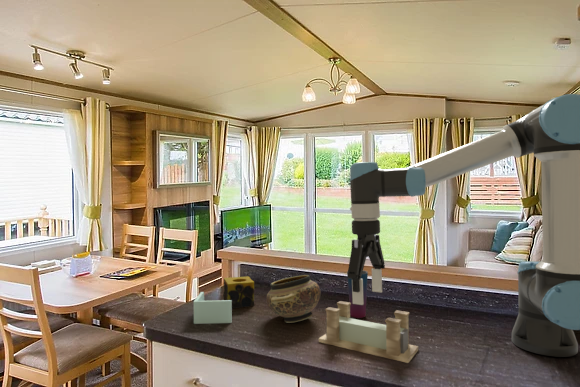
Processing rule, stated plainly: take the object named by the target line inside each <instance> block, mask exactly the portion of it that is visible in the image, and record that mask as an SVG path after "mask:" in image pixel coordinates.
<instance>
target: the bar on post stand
mask: <svg viewBox="0 0 580 387" xmlns="http://www.w3.org/2000/svg"><path fill="white" fill-rule="evenodd" d="M336 305H337V308H336V307H331V306H330V307H329V306H328V307H327V308H325V312H326V318H327V336H326V333H325V334H323V335H321V336H320V337H319V338H318V343H322V344H326V345H330V346H334V347H339V348H343V349H348V350H351V351H355V352H358V353H364V354H368V355H371V356H372V355H373V356H376V357H381V358H385V359H389V360H394V361H398V362H403V363H406V364H409V363H410V362H411V360H412V359H413V358H414V357H415V355H416V354H417V353H418V352H419V346H418V345H413V344H410V341H409V340H410V338H409V337H410V336H409V332H410V331H409V330H410V329H409V328H410V327H409V323H410V322H409V315H410V312H409V311H404V310H403V311H402V310H397V309H396V310H395V311H394V312H393V314H394V316H395V317H387V318H386V319H385V320H384V322H385V323H386V324H385V325H386V350H385V349H380V348H376V347H372V346H367V345H363V344H358V343H354V342H349V341H345V340H340V339H339V316H341V317H347V318H351V315H350V305H351V303H349V301H342V300H339V301H338V302H336ZM400 328H405V329H408V349H407V350H406V351H405V353H404V354H403V353H401V347H400Z"/></svg>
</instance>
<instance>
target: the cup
mask: <svg viewBox="0 0 580 387" xmlns="http://www.w3.org/2000/svg"><path fill="white" fill-rule="evenodd" d="M346 274H348V270H347V271H346ZM368 274H369V273H368V271H366V270H364V269H363V272H362V276H361V279H363V300H364V304H363V305H359V304H353V299H352V279H349V278H348V277H347V288H348V300H349V301H348V302H349V303H351V305H350V317H351V318H354V319H356V318H357V319H362V318H365V317H366V316H367V315H366V314H367V312H366V311H367V293H368Z"/></svg>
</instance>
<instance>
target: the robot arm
mask: <svg viewBox="0 0 580 387" xmlns="http://www.w3.org/2000/svg"><path fill="white" fill-rule="evenodd" d="M530 154H533V157H535V158H536V159H537V160H539V162H540V163H541V164H540V165H541V214H542V216H541V224H542V225H541V226H542V227H541V228H542V232H541V233H542V260H540V261H537V260H536V261H532V260H531V261H526V260H525V261H520V262H519V264H518V268H517V269H518V271H517V281H518V282H517V284H518V285H517V287H518V288H517V289H518V298H517V300H518V315H517V317H516V320H515V323H514V324H513V328H512V331H511V342H512V344H513V345H515V346H516V347H518V348H520V349H522V350H525V351H527V352H530V353H534V354H538V355H542V356H548V357H555V358H556V357H558V358H564V357H565V358H567V357H573V356H575V355H577V354H578V353H579V343H578V340H577V338H576V335H575V332H574V331H580V94H578V93H567V94H563V95H560V96H556V97H553V98H551V99H549V100H548V101H546V102H545V103H544V104H542V105H540V106H539V107H537V108H535V109H533V110H532V111H530V112H528V113H527V114H526V115H524V116H523V117H521V118H518V119H517V120H515V121H513V122H510V123H508V124H506V125H503V127H502V128H501V130H500V131H497V132H495V133H493V134H490V135H487V136H485V137H482V138H479V139H477V140H474V141H472V142H469V143H467V144H464V145H462V146H458V147H457V148H454V149H451V150H449V151H446V152H442V153H440V154H438V155H436V156H433V157H430V158H428V159H426V160H425V159H424V160H423V161H420V162H418V163H415V164H412V165H409V166H408V167H407V166H406V167H400V168H399V167H398V168H387V169H386V168H382V169H381V168H380V167H379V165H378V162H376V161H362V162H354V163H352V164H351V165H350V174H349V175H350V177H349V185H350V186H349V187H350V204H351V205H350V208H349V209H350V211H351V218H352V219H353V220H352V221H351V234H353V235H356V236H357V239H352V240H351V251H350V257H349V263H348V269H347V271H348V274H347V273H346V274H347V279H348V278H349V279H352V299H353V304H359V305H363V304H364V300H363V279H361V276H362V272H363V270H364V268H365V264H366V261H367V258H368V259H369V261H370V263H371V266H372V268H371V288H372V289H371V292H373V293H383V276H382V274H383V272H382V271H383V270H382V269H384V270H385V268H386V266H385V259H384V253H383V250H382V246H381V240H380V233H381V221H380V220H379V218H380V217H381V214H380V213H381V212H380V198H385V197H386V198H387V197H398V198H399V197H411V198H413V197H419V196H420V197H421V196H424V195H425V194H426V190H427V188H428V187H431V186H434V185H437V184H439V183H441V182H445V181H447V180H451V179H453V178H456V177H459V176H461V175H464V174H466V173H469V172H472V171H475V170H478V169H480V168H484V167H486V166H488V165H492V164H493V163H497V162H499V161H502V160H505V159H508V158H510V157H514V158H521V157H524V156H527V155H530Z"/></svg>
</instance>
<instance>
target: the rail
mask: <svg viewBox="0 0 580 387" xmlns="http://www.w3.org/2000/svg"><path fill="white" fill-rule="evenodd" d="M325 326H326V327H325V334H326V336H327V317H326V318H325ZM339 339H340V340H345V341H349V342H354V343H358V344H363V345H367V346H372V347H376V348H380V349H385V350H386V324H383V323H378V322H372V321H368V320H361V319H358V318H357V319H356V318H353V317H350V318H347V317H341V316H339ZM400 347H401V353H403V354H404V353H405V351H406V350H407V349H408V329H405V328H400Z"/></svg>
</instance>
